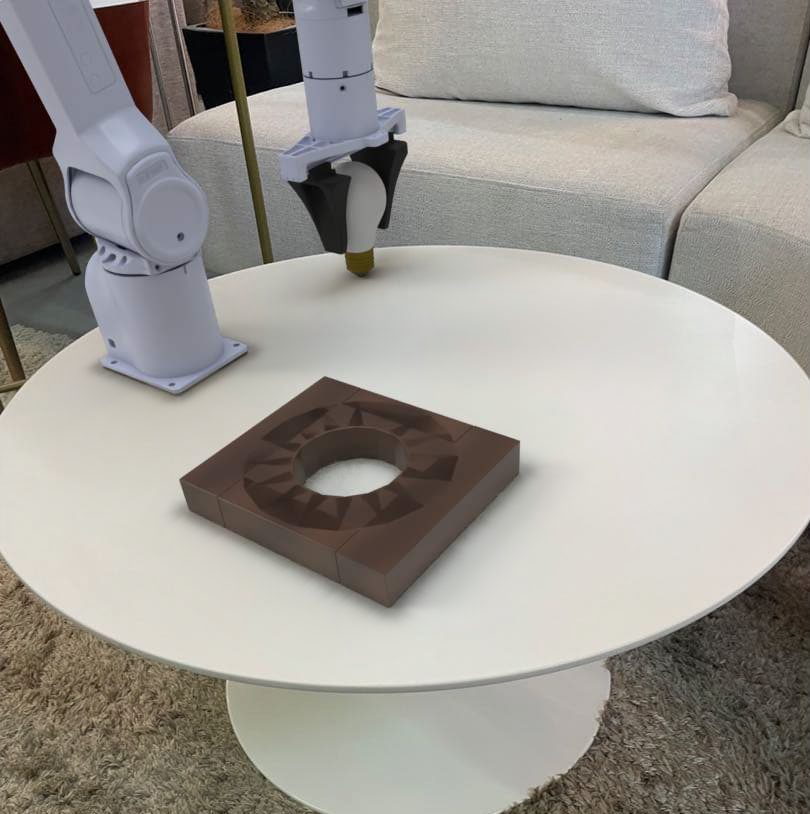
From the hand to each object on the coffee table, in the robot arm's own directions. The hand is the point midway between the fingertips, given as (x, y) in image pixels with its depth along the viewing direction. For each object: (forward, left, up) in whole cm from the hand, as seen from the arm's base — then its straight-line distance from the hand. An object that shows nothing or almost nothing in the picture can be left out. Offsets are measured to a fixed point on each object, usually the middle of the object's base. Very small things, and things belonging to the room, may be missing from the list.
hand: (357, 239), depth 74 cm
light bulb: (0, 0, -4) cm, 4 cm away
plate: (+20, -26, -3) cm, 33 cm away
